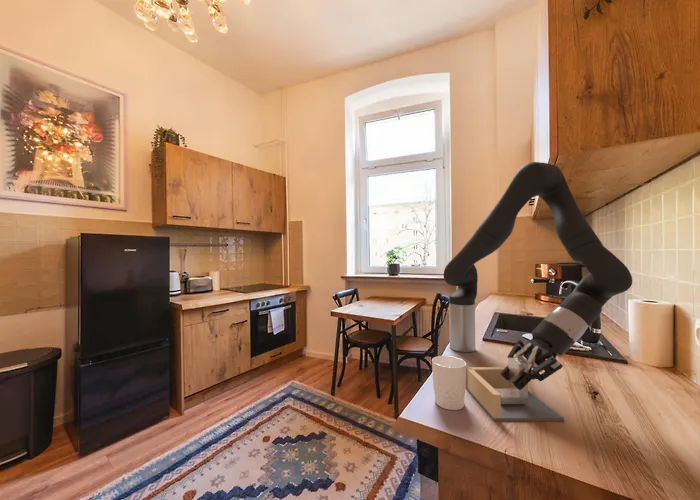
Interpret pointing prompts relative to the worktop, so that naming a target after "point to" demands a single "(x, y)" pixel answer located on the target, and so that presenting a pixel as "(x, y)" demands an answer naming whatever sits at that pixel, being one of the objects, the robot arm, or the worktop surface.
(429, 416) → the worktop surface
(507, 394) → the bracket
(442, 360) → the white cup
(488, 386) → the corner tray
